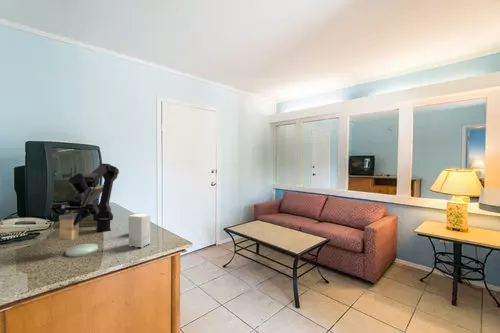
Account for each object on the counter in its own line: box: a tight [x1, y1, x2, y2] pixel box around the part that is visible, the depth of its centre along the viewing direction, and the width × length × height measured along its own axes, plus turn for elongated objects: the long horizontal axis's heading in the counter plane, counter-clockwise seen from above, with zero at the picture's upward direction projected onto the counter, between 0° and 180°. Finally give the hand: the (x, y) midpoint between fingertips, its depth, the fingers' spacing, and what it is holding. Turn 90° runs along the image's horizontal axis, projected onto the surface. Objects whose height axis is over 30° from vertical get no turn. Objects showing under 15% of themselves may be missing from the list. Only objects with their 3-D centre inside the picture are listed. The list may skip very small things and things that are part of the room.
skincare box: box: [128, 212, 151, 248], centre depth 116 cm, size 8×7×16 cm
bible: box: [68, 184, 104, 228], centre depth 154 cm, size 23×20×25 cm
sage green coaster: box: [65, 243, 99, 258], centre depth 107 cm, size 12×12×2 cm
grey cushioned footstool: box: [58, 212, 79, 241], centre depth 105 cm, size 5×5×11 cm
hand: (67, 225), depth 104 cm, fingers closed on grey cushioned footstool, 5 cm apart
